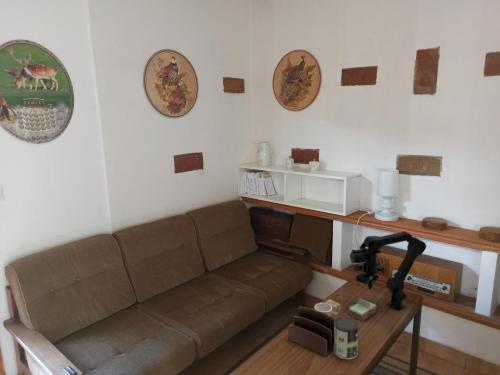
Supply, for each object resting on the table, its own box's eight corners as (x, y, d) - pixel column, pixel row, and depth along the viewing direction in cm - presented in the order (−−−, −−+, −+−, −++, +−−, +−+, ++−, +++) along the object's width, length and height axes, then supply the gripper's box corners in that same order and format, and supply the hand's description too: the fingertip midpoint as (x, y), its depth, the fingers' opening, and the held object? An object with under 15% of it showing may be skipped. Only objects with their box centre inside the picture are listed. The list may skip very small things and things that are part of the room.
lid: (363, 301, 191) (363, 294, 190) (376, 306, 185) (376, 299, 184) (349, 309, 183) (349, 302, 182) (362, 315, 177) (362, 308, 176)
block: (329, 307, 192) (329, 299, 191) (340, 312, 187) (340, 304, 186) (324, 309, 190) (324, 302, 189) (335, 315, 184) (335, 307, 183)
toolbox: (361, 306, 192) (361, 298, 191) (377, 313, 185) (377, 305, 184) (348, 314, 184) (348, 307, 184) (363, 322, 177) (364, 314, 177)
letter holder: (299, 329, 174) (299, 303, 170) (336, 345, 161) (337, 317, 158) (287, 339, 166) (287, 312, 163) (326, 357, 154) (326, 328, 151)
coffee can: (356, 345, 160) (357, 317, 157) (358, 360, 151) (359, 331, 148) (333, 343, 162) (333, 315, 159) (333, 358, 153) (334, 328, 150)
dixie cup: (314, 320, 181) (314, 302, 178) (331, 320, 179) (331, 302, 177) (314, 329, 172) (314, 311, 170) (332, 331, 171) (332, 312, 169)
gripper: (366, 251, 194) (366, 278, 198) (346, 262, 183) (346, 290, 186) (385, 257, 186) (385, 284, 189) (366, 268, 174) (365, 297, 178)
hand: (370, 289), depth 186 cm, fingers closed
